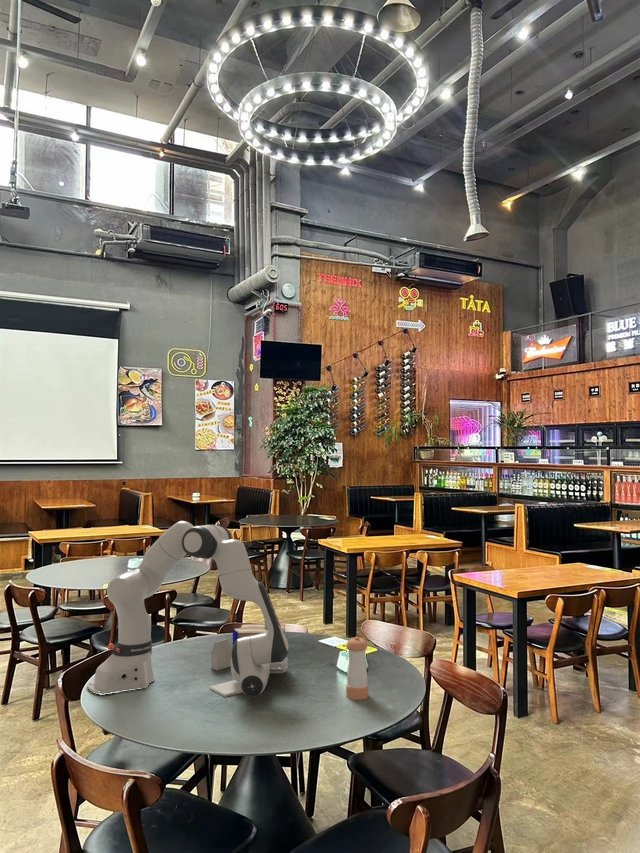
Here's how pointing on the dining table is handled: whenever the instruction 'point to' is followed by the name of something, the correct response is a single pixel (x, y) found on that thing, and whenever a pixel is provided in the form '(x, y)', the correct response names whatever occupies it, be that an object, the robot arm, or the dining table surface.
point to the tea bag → (221, 655)
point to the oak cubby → (254, 629)
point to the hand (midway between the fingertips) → (261, 657)
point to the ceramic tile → (227, 688)
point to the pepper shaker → (357, 670)
